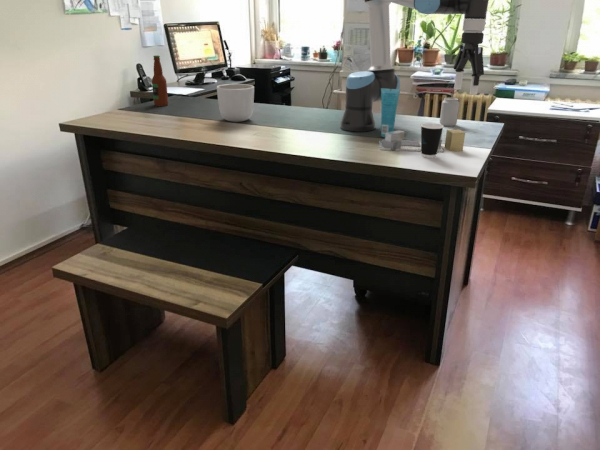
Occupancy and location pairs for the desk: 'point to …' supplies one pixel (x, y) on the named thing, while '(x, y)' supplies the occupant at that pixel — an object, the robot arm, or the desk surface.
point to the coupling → (454, 140)
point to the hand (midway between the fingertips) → (465, 91)
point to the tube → (388, 109)
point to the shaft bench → (401, 142)
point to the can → (449, 112)
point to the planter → (236, 101)
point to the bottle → (159, 84)
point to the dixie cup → (430, 139)
